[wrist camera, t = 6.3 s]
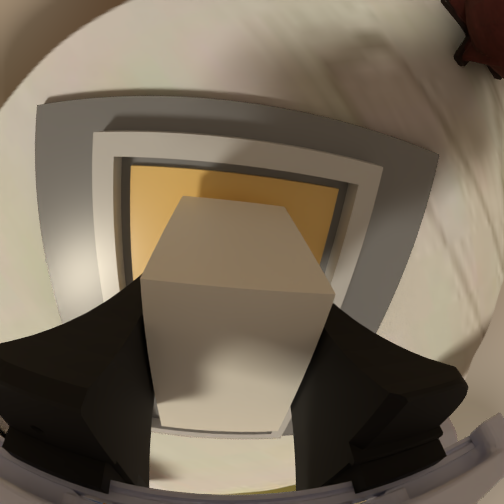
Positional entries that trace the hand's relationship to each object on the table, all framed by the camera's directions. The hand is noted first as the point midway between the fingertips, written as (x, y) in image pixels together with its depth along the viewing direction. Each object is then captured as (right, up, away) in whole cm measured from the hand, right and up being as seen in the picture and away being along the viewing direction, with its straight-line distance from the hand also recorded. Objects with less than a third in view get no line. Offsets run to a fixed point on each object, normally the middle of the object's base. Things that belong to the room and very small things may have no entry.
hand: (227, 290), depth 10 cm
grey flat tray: (-1, -4, +6) cm, 7 cm away
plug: (0, +1, +2) cm, 2 cm away
